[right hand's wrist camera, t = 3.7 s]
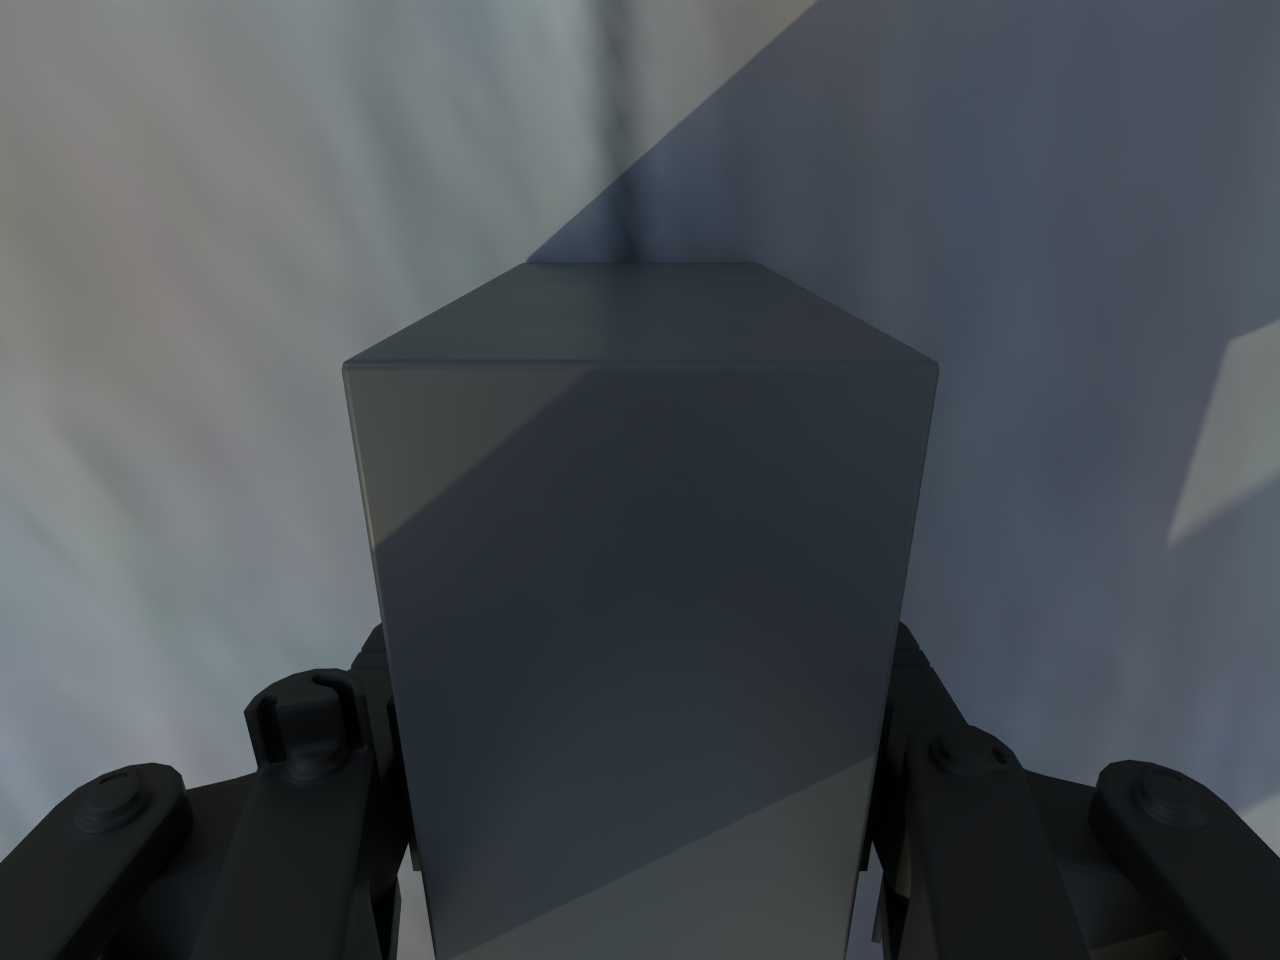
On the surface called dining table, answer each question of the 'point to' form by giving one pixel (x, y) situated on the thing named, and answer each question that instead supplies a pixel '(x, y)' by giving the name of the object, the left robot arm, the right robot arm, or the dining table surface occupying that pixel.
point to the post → (640, 603)
